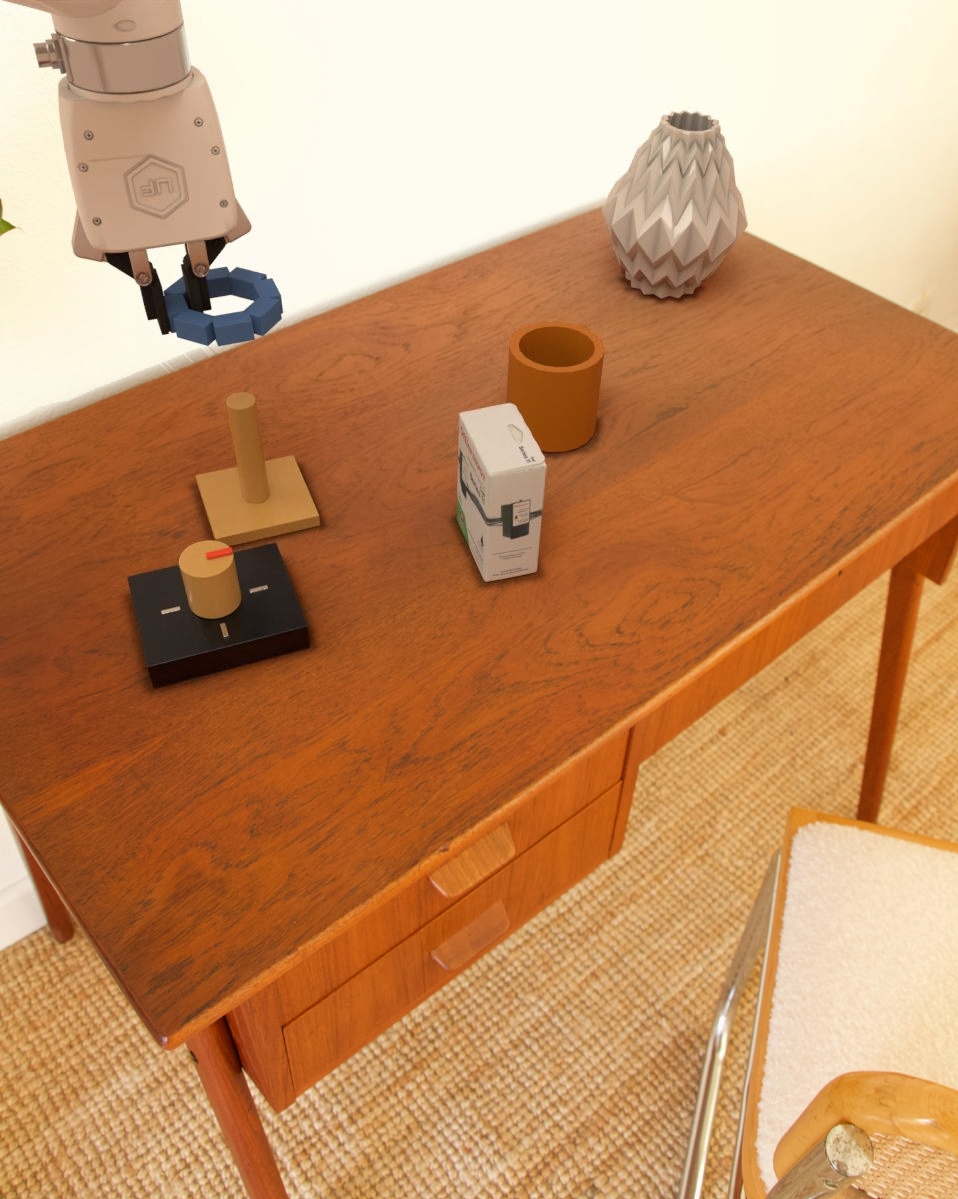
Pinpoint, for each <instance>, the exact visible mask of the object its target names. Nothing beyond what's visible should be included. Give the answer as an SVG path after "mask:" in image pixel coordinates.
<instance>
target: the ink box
mask: <svg viewBox="0 0 958 1199" xmlns="http://www.w3.org/2000/svg"><path fill="white" fill-rule="evenodd" d="M457 446H458V448H457V450H458V451H457V480H456V481H457V482H456V496H457V497H456V522H457V524H458V526H459V528H460V530H461V532H462V535H463V537H464V540H465V541H466V544H467V545H468V546H467V547H468V548H469V551H470V553H471V555H472V557H473V559H474V562H475V564H476V566H477V568H478V570H479V573H480V575H481V578H482V579H483V581H484V582H485V583H488V582H493V581H494V582H495V581H499V580H505V579H510V578H515V577H521V576H524V575H530V574H534V573H537V571H538V567H539V566H538V565H539V554H540V545H541V544H540V543H541V532H542V521H543V509H544V501H545V500H544V499H545V490H546V489H545V488H546V481H547V480H546V479H547V469H548V466H547V463H546V456H545V455H544V454H543V451H541V450H540V448H539V446H538V444H537V443H536V441H535V440H534V438H533V436H532V434H531V431H530V430H529V428H528V427H527V425H526V423H525V422H524V419H523V417H522V415H521V414H520V412H519V411H518V409H517V407H516V405H514V404H512V403H507V402H506V403H502V404H497V405H491V406H486V407H482V408H476V409H472V410H467V411H461V412H459V413H458V445H457Z"/></svg>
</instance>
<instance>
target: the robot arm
mask: <svg viewBox="0 0 958 1199" xmlns="http://www.w3.org/2000/svg"><path fill="white" fill-rule="evenodd" d="M2 2H7V3H11V4H15V5H19V6H22V7H26V8H29V9H34V10H38V11H41V12H45V13H48V14H50V15H51V20H52V24H53V28H54V32H55V33H52V32H51V33H50V37H51V38H50V39H48V38H47V39H45V40H44V42H36V43H35V42H34V43H32V45H33V50H34V54H35V57H36V61H37V65H38V68H39V69H45V68H51V69H52V70H59V72H60V74H61V75H64V74H65V76H63V77H62V78H61V79H60V80H59V82H58V84H57V86H58V87H57V88H58V89H57V100H58V114H59V123H60V129H61V136H62V141H63V149H64V153H65V158H66V159H65V160H66V164H67V168H68V174H69V178H70V182H71V188H72V192H73V196H74V200H75V205H76V211H75V213H76V214H75V218H74V219H75V220H74V224H73V230H72V236H71V248H72V253H73V254H74V256H76V257H77V258H79V259H83V260H89V261H93V262H99V263H107V264H109V265H110V266H111V267H113V268H115V269H116V270H118V271H120V272H122V273H123V274H125V275H126V276H128V277H129V278H131V279H133V280H134V282H135V283H136V284H137V285H138V286H139V290H140V295H141V298H142V303H143V307H144V311H145V314H146V318H147V321H153V320H157V324H158V327H159V330H160V333H161V336H165V335H170V333H171V327H170V322H169V317H168V313H167V308H166V303H165V299H164V292H163V291H164V290H163V285H162V282H161V280H160V276H159V274H158V271H157V269H156V267H154V265H153V262H152V261H150V260H149V255H148V251H147V250H153V249H158V248H166V247H171V246H178V245H183V246H184V251H185V255H184V256H183V257H182V263H181V264H180V268H181V273H182V276H183V279H184V284H185V289H186V293H187V298H188V303H189V309H190V310H193V311H198V312H201V313H205V312H208V311H212V309H213V308H212V302H211V299H210V296H209V290H208V285H207V279H206V276H207V275H208V274H209V271H210V269H211V268H210V267H211V266H212V265H213V263H214V262H215V260H216V259H217V258H218V257H219V255H220V254H221V253H222V251H223V250H224V249H225V247H226V246H227V245H228V244H231V243H233V242H235V241H237V240H239V239H240V238H242V237H243V236H245V235H247V234H249V233H250V232H251V230H252V223H251V221H250V219H249V217H248V215H247V214H246V212H245V210H244V209H243V207H242V205H241V204H240V202H239V201H238V199H237V197H236V193H235V187H234V183H233V177H232V173H231V167H230V163H229V162H230V161H229V157H228V153H227V148H226V143H225V139H224V134H223V129H222V126H221V122H220V118H219V115H218V110H217V108H216V104H215V100H214V98H213V94H212V92H211V88H210V86H209V83H208V80H207V78H206V76H205V75H204V74H203V72H202V71H201V70H200V69H199V68H198V67H196V66H194V65H192V64H191V57H190V52H189V51H190V50H189V46H188V39H187V33H186V27H185V22H184V16H183V9H182V3H181V0H2Z"/></svg>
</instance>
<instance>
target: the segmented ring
mask: <svg viewBox="0 0 958 1199" xmlns="http://www.w3.org/2000/svg"><path fill="white" fill-rule="evenodd" d="M206 279H207V285H208V290H209V296H210V300H212V299H216V298H222V297H228V296H233V297H236V298H240V299H244V300H248V301H253V302H252V303H251V304H249V305H248V306H247V307H246V308H244V310H240V311H235V312H229V313H222V314H216V315H212V314H208V313H205V312H204V313H201V312H198V311H193V310H190V309H189V303H188V298H187V293H186V289H185V284H184V279H183V275H182V276H181V277H180V278H178V279H177V280H176V281H174V282H173V283H172V284H170V285H169V286H168V287H166V289H164V290H163V294H164V299H165V303H166V308H167V313H168V317H169V322H170V327H171V332H170V333H171V334H176V337H177V339H181V340H185V341H189V342H192V343H196V344H200V345H203V346H206V347H208V346H210V345H211V344H213V342H216V345H217V347H224V346H228V345H234V344H239V343H245V342H251V341H255V339H256V337H255V335H257V336H260V337H264V336H265V335H266V334H267V333H268V332H269V331H270V330H272V329H273V328H274V327H275V326H276V325H277V324H278V323H279V322H281V320H282V319H283V317H282V315H283V314H284V308H283V307H284V306H283V300H282V294H281V292H280V290H279V287H278V286H277V284H276V282H275V281H274V279H273V278H272V277H270V278H268V277H267V274H266V273H263V272H259V271H255V270H251V269H247V268H243V267H239V266H235V267H234V268H233V269H232V270H229V267H228V266H222V267H215V268H210V271H209V274H208V275H207V276H206Z"/></svg>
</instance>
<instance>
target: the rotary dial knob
mask: <svg viewBox="0 0 958 1199" xmlns="http://www.w3.org/2000/svg"><path fill="white" fill-rule="evenodd" d="M233 552H234V551H233V548H232V546H228V545H226V544H224V543H222V542H219V541H215V540H212V539H211V540H209V539H208V540H207V539H206V540H201V541H197V542H194V543H193V544H190V545H188V546H187V547H186V548H185V549H184V550H183V551H182V552H181V554H180V555H179V558H178V565H179V567H180V571H181V575H182V579H183V583H184V587H185V591H186V595H187V599H188V603H189V606H190V609H191V610H192V612H193V613H195V614H196V615H198V616H200V617H203V618H207V619H216V618H221V617H224V616H227V615H229V614H231V613H232V612H234V611H235V610H236V609H237V608H238V606H239V605H240V603H241V599H242V596H241V591H240V586H239V580H238V575H237V570H236V565H235V560H234V555H233Z"/></svg>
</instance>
